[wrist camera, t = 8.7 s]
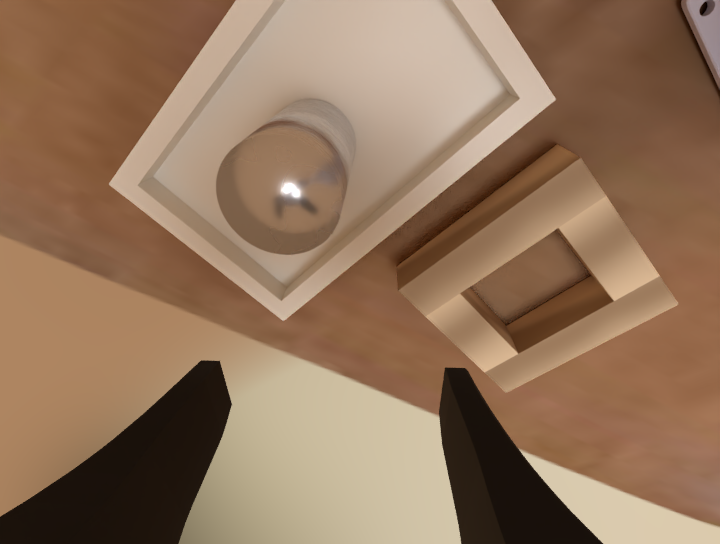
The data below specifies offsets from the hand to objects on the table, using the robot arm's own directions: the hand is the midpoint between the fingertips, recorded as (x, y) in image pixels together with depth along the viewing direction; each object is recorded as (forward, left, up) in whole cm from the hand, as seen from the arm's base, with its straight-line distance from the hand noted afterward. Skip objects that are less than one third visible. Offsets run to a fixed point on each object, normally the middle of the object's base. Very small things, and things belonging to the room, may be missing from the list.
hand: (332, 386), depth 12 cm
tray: (+5, -3, -10) cm, 12 cm away
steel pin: (+5, -2, -10) cm, 11 cm away
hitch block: (-8, -6, -10) cm, 14 cm away
